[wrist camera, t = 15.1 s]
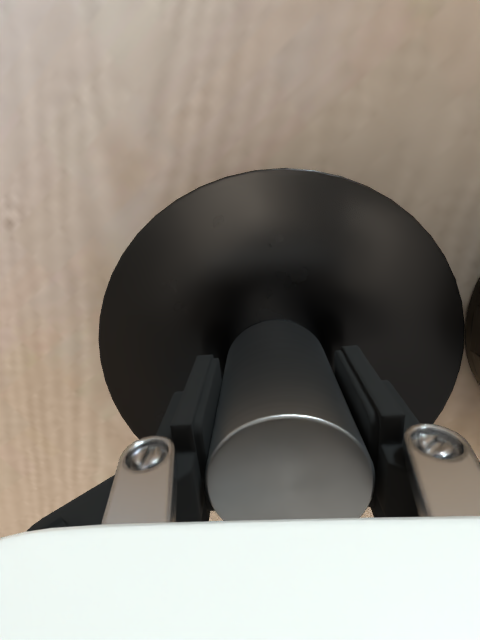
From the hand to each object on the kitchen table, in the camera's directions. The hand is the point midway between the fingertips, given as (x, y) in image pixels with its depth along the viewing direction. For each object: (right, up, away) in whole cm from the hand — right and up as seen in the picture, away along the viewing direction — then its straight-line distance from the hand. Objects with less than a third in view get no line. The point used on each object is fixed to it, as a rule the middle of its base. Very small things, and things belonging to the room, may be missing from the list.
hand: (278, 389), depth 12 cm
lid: (0, +1, +2) cm, 2 cm away
